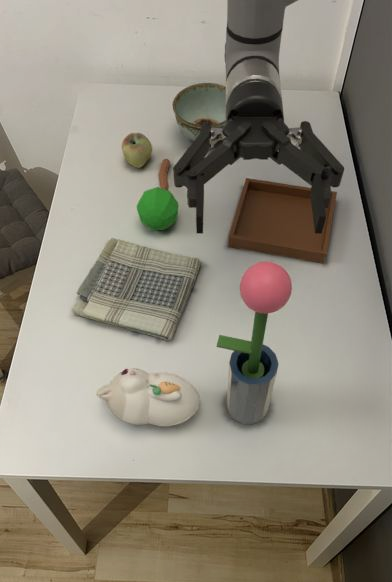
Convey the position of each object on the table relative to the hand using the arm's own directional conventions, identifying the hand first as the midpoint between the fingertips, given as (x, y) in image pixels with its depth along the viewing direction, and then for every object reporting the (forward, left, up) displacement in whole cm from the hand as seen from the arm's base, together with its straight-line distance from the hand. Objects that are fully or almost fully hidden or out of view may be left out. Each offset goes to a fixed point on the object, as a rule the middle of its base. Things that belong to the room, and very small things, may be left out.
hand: (259, 225), depth 56 cm
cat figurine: (+12, +13, -29) cm, 34 cm away
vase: (-2, +9, -29) cm, 30 cm away
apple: (+31, -40, -29) cm, 58 cm away
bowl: (+19, -50, -29) cm, 60 cm away
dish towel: (+21, -8, -29) cm, 36 cm away
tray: (-1, -29, -29) cm, 40 cm away
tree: (+23, -30, -29) cm, 47 cm away
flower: (-1, +9, -28) cm, 29 cm away
